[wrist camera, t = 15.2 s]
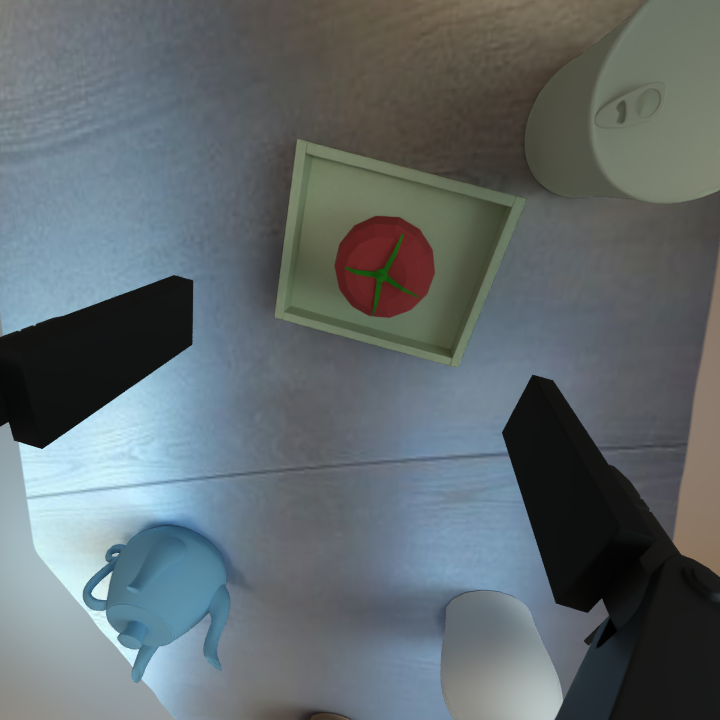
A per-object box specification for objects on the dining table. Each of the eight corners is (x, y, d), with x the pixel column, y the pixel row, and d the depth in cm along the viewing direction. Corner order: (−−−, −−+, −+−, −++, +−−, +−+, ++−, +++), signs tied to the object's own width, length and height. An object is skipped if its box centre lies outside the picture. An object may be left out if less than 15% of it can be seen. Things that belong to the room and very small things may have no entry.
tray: (518, 197, 29) (527, 198, 26) (455, 356, 35) (457, 368, 33) (306, 142, 29) (297, 138, 27) (283, 309, 36) (274, 317, 34)
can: (520, 73, 25) (593, -8, 15) (671, 25, 23) (885, -110, 13) (527, 210, 29) (589, 225, 18) (659, 180, 27) (816, 176, 16)
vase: (428, 632, 56) (433, 842, 38) (448, 575, 49) (464, 795, 32) (523, 654, 55) (573, 880, 37) (556, 598, 48) (635, 840, 30)
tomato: (451, 243, 30) (461, 260, 24) (403, 318, 34) (399, 352, 27) (368, 194, 30) (354, 196, 23) (328, 276, 33) (305, 299, 26)
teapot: (263, 577, 56) (225, 673, 45) (182, 600, 62) (131, 689, 51) (190, 502, 51) (127, 589, 40) (109, 535, 57) (36, 618, 46)
